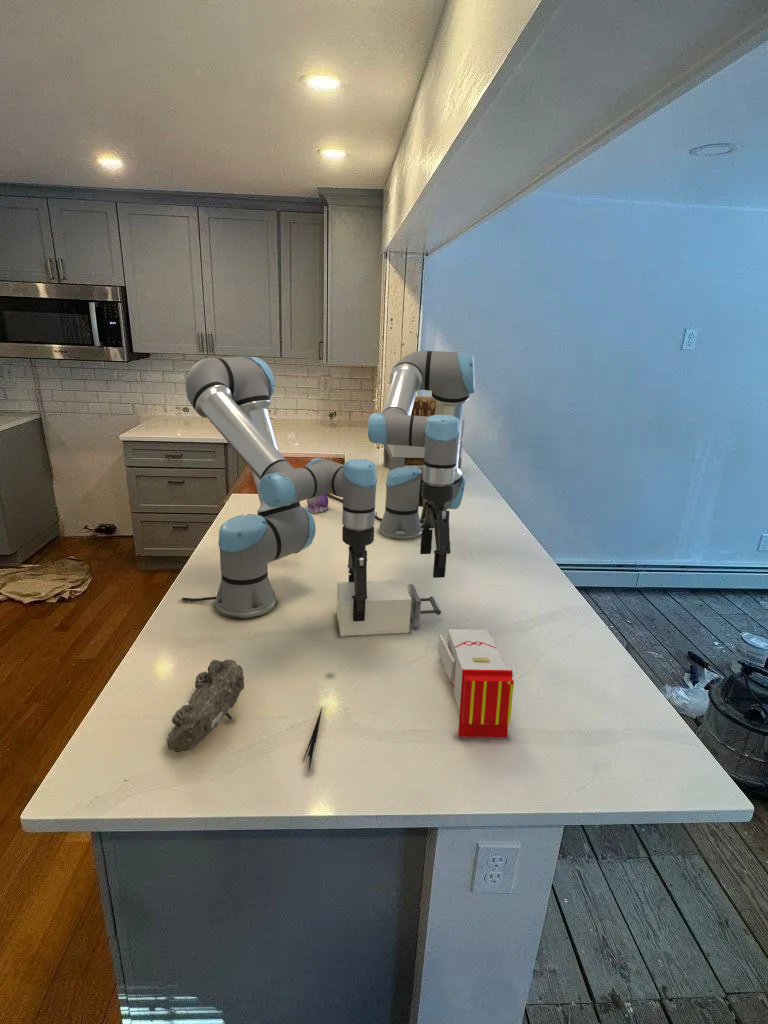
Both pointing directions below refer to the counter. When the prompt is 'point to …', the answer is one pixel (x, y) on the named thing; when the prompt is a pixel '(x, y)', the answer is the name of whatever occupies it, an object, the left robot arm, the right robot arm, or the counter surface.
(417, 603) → the drawer
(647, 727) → the counter surface
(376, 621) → the cabinet
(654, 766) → the counter surface
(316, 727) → the feather
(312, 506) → the figurine
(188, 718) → the fossil
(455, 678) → the toy
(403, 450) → the transformer
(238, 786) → the counter surface
